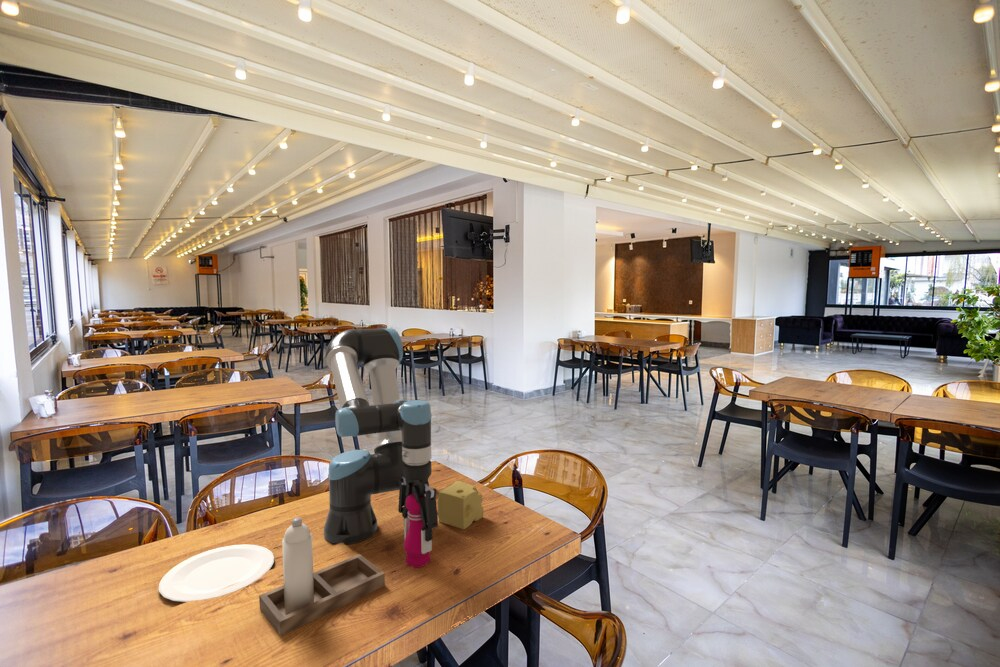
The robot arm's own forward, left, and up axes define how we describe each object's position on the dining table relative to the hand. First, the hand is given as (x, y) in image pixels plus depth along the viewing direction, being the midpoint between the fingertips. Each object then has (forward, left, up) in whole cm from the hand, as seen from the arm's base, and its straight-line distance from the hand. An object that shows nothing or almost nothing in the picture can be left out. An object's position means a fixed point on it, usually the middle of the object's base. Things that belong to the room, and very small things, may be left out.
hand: (417, 545), depth 125 cm
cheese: (-10, +23, -4) cm, 25 cm away
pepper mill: (0, 0, -4) cm, 4 cm away
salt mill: (-1, -31, -3) cm, 31 cm away
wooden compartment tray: (-1, -25, -4) cm, 25 cm away
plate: (-30, -39, -5) cm, 49 cm away
